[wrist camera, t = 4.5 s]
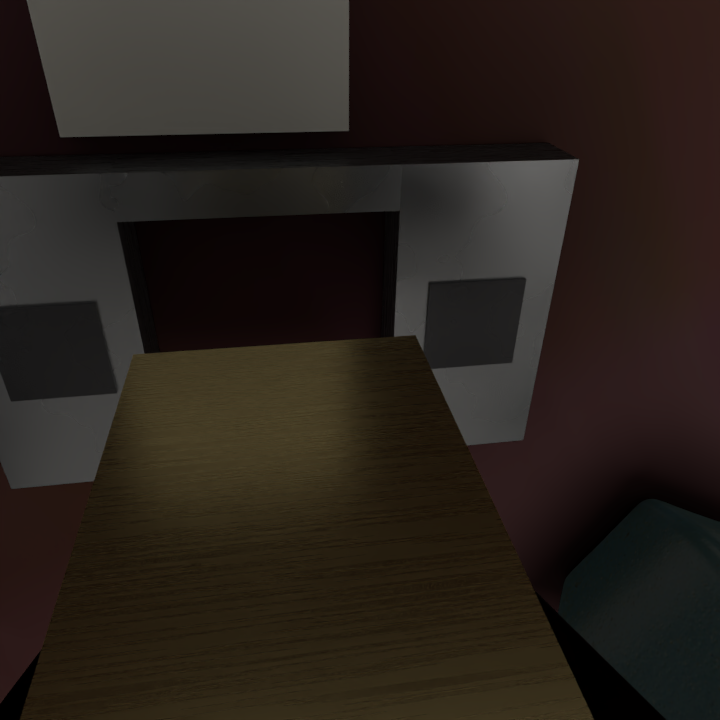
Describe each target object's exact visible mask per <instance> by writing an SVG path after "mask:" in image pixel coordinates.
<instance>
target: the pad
mask: <svg viewBox="0 0 720 720" xmlns="http://www.w3.org/2000/svg"><path fill="white" fill-rule="evenodd" d="M27 4H28V8H29V12H30V16H31V20H32V25H33V29H34V33H35V37H36V41H37V45H38V49H39V53H40V57H41V61H42V66H43V70H44V74H45V78H46V82H47V86H48V90H49V94H50V98H51V102H52V106H53V111H54V115H55V119H56V123H57V127H58V131H59V135H60V137H94V136H140V135H186V134H232V133H278V132H324V131H349V0H27Z"/></svg>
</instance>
